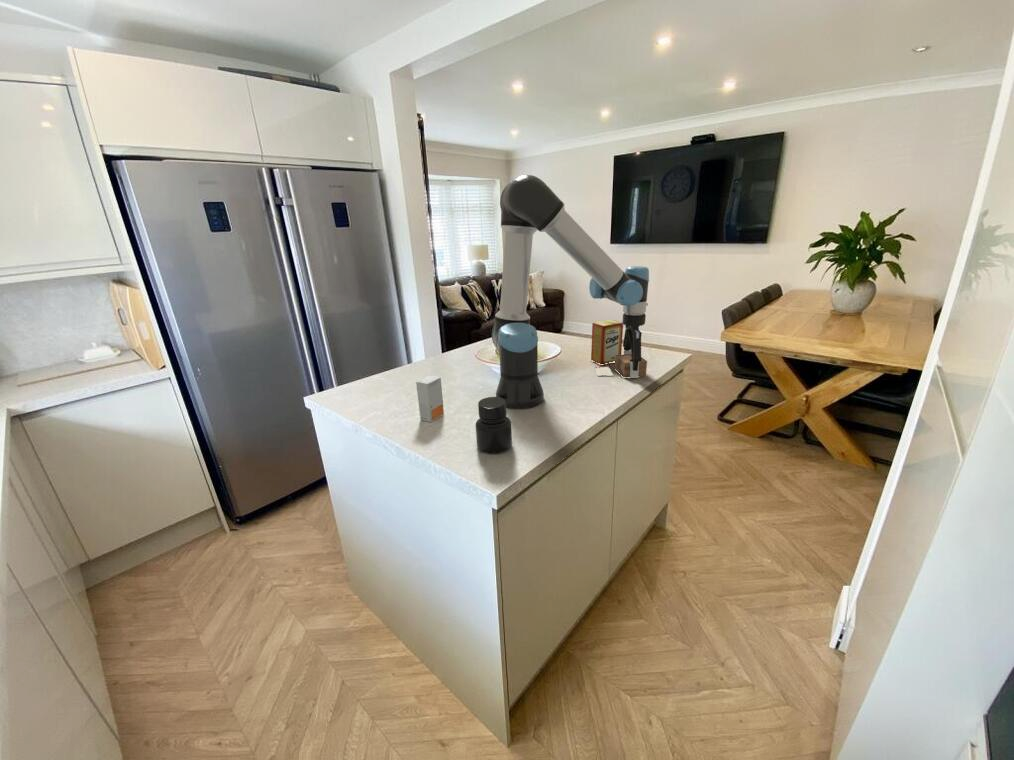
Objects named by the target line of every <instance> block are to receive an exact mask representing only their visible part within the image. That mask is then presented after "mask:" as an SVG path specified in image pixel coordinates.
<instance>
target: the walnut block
mask: <svg viewBox="0 0 1014 760" xmlns="http://www.w3.org/2000/svg"><path fill="white" fill-rule="evenodd" d="M636 358H637V357H636ZM630 359H632V355H631V354H626V355H624V354H621V355H616V357H615V363H614V370H615V369H616V370H617V371H618V372H619V373H620V374H621V375H622V376H623V377H630V365H631V362H630ZM641 359H642V360H641V361H640V362H639V372H638V376H646V377H647V368H648V367H647V366H648V360H646V359H644V357H642V356H641ZM621 375H620V376H621ZM622 376H621V377H622ZM623 377H622V378H623Z"/></svg>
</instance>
